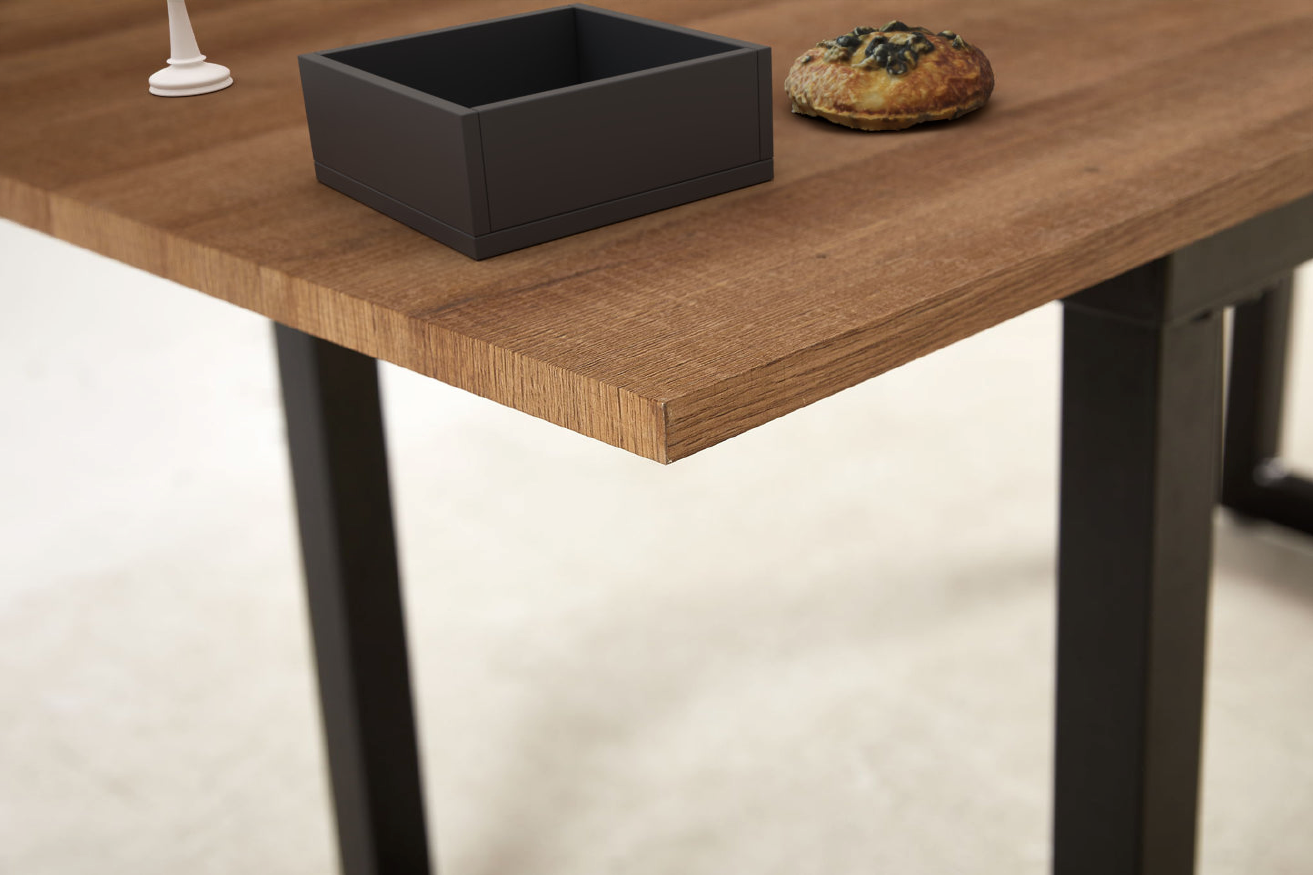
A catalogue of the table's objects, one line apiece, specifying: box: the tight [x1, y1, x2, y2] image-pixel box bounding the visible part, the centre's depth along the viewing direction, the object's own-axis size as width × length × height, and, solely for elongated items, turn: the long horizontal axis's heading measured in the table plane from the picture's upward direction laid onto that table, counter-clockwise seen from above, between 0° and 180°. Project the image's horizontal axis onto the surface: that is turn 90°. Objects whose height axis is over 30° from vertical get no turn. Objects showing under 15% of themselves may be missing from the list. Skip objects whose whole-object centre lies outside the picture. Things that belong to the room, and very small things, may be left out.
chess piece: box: [148, 0, 234, 97], centre depth 92 cm, size 5×5×10 cm
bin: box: [297, 2, 775, 261], centre depth 71 cm, size 16×16×6 cm
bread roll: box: [783, 19, 996, 132], centre depth 80 cm, size 11×11×5 cm
